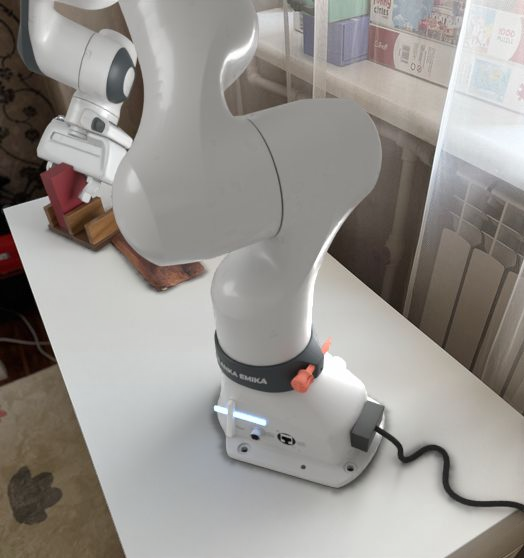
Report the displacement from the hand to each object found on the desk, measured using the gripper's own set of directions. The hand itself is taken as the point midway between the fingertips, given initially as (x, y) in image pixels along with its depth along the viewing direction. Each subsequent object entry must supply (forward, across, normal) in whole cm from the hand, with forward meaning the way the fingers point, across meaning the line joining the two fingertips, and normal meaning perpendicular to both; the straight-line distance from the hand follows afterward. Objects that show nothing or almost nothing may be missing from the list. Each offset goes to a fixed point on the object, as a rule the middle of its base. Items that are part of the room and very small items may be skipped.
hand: (66, 194), depth 102 cm
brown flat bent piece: (+4, +18, +7) cm, 20 cm away
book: (+4, 0, +5) cm, 6 cm away
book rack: (+5, +3, +6) cm, 8 cm away
